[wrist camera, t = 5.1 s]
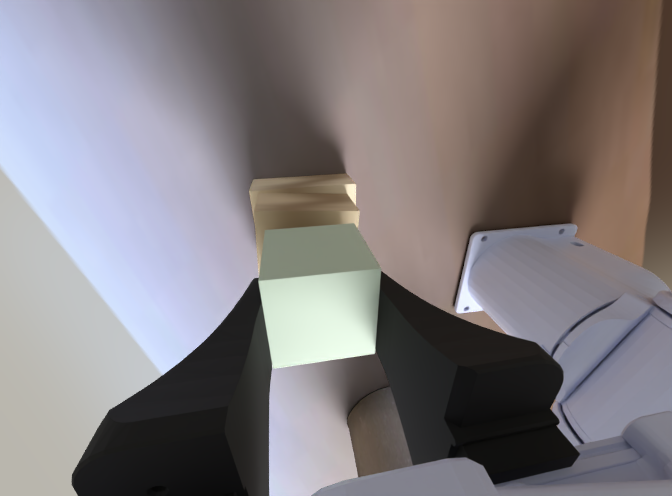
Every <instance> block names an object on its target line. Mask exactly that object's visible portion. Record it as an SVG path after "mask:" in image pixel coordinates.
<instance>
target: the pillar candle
mask: <svg viewBox="0 0 672 496" xmlns="http://www.w3.org/2000/svg"><path fill="white" fill-rule="evenodd" d="M347 422H348V423H347V424H348V428H349V431H350V436H351V441H352V446H353V451H354V456H355V462H356V467H357V472H358V477H363V476H368V475H372V474H377V473H382V472H386V471H391V470H396V469H400V468H405V467H410V466H413V464H412V460H411V456H410V453H409V449H408V446H407V442H406V438H405V435H404V431H403V428H402V424H401V421H400V417H399V414H398V411H397V407H396V404H395V400H394V397H393V394H392V391H391V388H390V387H387V388H383V389H380V390H377V391H375V392H373V393H371V394H369V395H368V396H366V397H365V398H363V399H362V400H360V401H359V403H358V404H357V405H356V406H355V407H354V408H353V410H352V411H351V413H350V415H349V416H348V420H347Z"/></svg>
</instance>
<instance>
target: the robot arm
mask: <svg viewBox="0 0 672 496" xmlns="http://www.w3.org/2000/svg"><path fill="white" fill-rule="evenodd" d="M576 231H577V226H576V225H574V224H571V223H569V224H558V225H547V226H536V227H525V228H514V229H503V230H492V231H481V232H475V233H473V234H472V235H471V237H470V241H469V246H468V250H467V254H466V259H465V263H464V268H463V272H462V276H461V281H460V285H459V289H458V294H457V298H456V302H455V307H454V309H455V311H456V312H457V313H467V312H474V311H481V310H484V311H485V312H486V313H487V314H488V315H489V316H490V317H491V318H492V319H493V320H494V321H495V322H496V323H497V324H498V325H499V326H500V327H501V328H502V329H503V330H504V332H505V333H506V334H507V335H506V334H503V333H499V332H496V331H493V330H490V329H487V328H484V327H481V326H479V325H476V324H473V323H470V322H468V321H466V320H463V319H461V318H458V317H456V316H454V315H451V314H449V313H447V312H445V311H443V310H441V309H439V308H437V307H435V306H433V305H431V304H430V303H428V302H426V301H424V300H423V299H421V298H419V297H418V296H416V295H414V294H413V293H411V292H410V291H408V290H407V289H405V288H404V287H402V286H401V285H400V284H398V283H397V282H395V281H394V280H393V279H391V278H390V277H389V276H387V275H386V274H385V273H383V272H382V271H381V279H380V292H379V306H378V319H377V333H376V346H375V349H376V351H377V354H378V356H379V358H380V361H381V363H382V365H383V368H384V370H385V373H386V376H387V378H388V381H389V385H390V388H391V391H392V394H393V397H394V400H395V404H396V407H397V411H398V414H399V417H400V421H401V424H402V428H403V431H404V435H405V438H406V442H407V446H408V449H409V453H410V456H411V460H412V464H413V466H410V467H405V468H400V469H396V470H391V471H386V472H382V473H377V474H372V475H368V476H363V477H358V478H354V479H349V480H344V481H341V482H338V483H335V484H333V485H330V486H327V487H324V488H321V489H320V490H318V491H317V492H316V493H314V494H313V495H312V496H672V291H670V289H669V288H668V286H667V285H666V284H665V283H664V282H663V281H662V280H661V279H659V278H658V277H657V276H656V275H655V274H653V273H652V272H650V271H648V270H646V269H644V268H642V267H640V266H638V265H635V264H633V263H631V262H629V261H627V260H624V259H622V258H620V257H618V256H616V255H614V254H611V253H609V252H607V251H605V250H603V249H600V248H598V247H596V246H594V245H592V244H589V243H587V242H585V241H583V240H581V239H579V238H576V237H574V235H575V233H576ZM483 236H484V238H483V239H482V237H483ZM258 280H259V278H254V279H253V280H252V282H251V283H250V285H249V287H248V288H247V290H246V291H245V293H244V294H243V296H242V297H241V299H240V300H239V301H238V303H237V304H236V305H235V307H234V308H233V309H232V311H231V312H230V313H229V314H228V316H227V317H226V318H225V319H224V320H223V322H222V323H221V324H220V325H219V326H218V327H217V329H216V330H215V331H214V332H213V333H212V334H211V335H210V336H209V337H208V338H207V339H206V340H205V341H204V342H203V343H202V344H201V345H200V346H199V347H197V348H196V349H195V350H194V351H193V352H191V353H190V354H189V355H188V356H187V357H186V358H184V359H183V360H182V361H181V362H180V363H178V364H177V365H176V366H175V367H173V368H172V369H171V370H169V371H168V372H167V373H165V374H164V375H163V376H161V377H160V378H158V379H157V380H156V381H154V382H153V383H151V384H150V385H148V386H147V387H145V388H144V389H142V390H141V391H139V392H138V393H136V394H134V395H133V396H131V397H130V398H128V399H127V400H125V401H123V402H122V403H120V404H119V405H117V406H115V407H114V408H112V409H110V410H109V412H108V413H107V415H106V416H105V418H104V419H103V421H102V422H101V424H100V426H99V427H98V429H97V431H96V433H95V434H94V436H93V438H92V440H91V441H90V443H89V445H88V447H87V449H86V450H85V452H84V454H83V456H82V458H81V459H80V461H79V463H78V465H77V467H76V468H75V470H74V472H73V474H72V486H73V488H74V490H75V491H76V493H77V495H78V496H269V392H270V380H271V371H272V360H271V354H270V348H269V342H268V336H267V330H266V324H265V318H264V312H263V306H262V300H261V294H260V288H259V282H258ZM555 399H556V401H555V403H554V404H553V402H554V400H555ZM552 404H553V409H552V410H551V409H550V407H551V405H552ZM552 411H553V412H552ZM556 425H557V426H558V427H557V426H556Z"/></svg>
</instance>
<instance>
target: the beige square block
mask: <svg viewBox="0 0 672 496" xmlns="http://www.w3.org/2000/svg"><path fill="white" fill-rule="evenodd" d="M359 212H360V211H359V209H358V208H357V207H356V205H355V204H354V202H353V201H352V200H351V198H350V197H349V196H348V194H332V193H258V197H257V201H256V205H255V209H254V218H255V231H256V245H257V258H258V271H259V272H260V264H261V257H262V249H263V241H264V234H265V230H272V229H285V228H298V227H311V226H324V225H337V224H350V223H354V224H355V225H356V227H357V229H358V222H359Z"/></svg>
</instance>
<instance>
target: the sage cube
mask: <svg viewBox="0 0 672 496" xmlns="http://www.w3.org/2000/svg"><path fill="white" fill-rule="evenodd" d="M380 279H381V267H380V265H379V264H378V262H377V260H376V259H375V257H374V255H373V254H372V252H371V250H370V249H369V247H368V245H367V244H366V242H365V240H364V239H363V237H362V235H361V234H360V232H359V230H358V229H357V227H356V225H355V224H354V223H350V224H337V225H324V226H311V227H298V228H285V229H272V230H265V234H264V241H263V249H262V257H261V264H260V272H259V280H258V282H259V288H260V294H261V300H262V306H263V312H264V318H265V324H266V330H267V336H268V342H269V348H270V354H271V360H272V366H273V369H275V368H282V367H289V366H296V365H302V364H309V363H316V362H323V361H329V360H336V359H343V358H350V357H356V356H363V355H370V354H375V346H376V333H377V319H378V306H379V292H380Z"/></svg>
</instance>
